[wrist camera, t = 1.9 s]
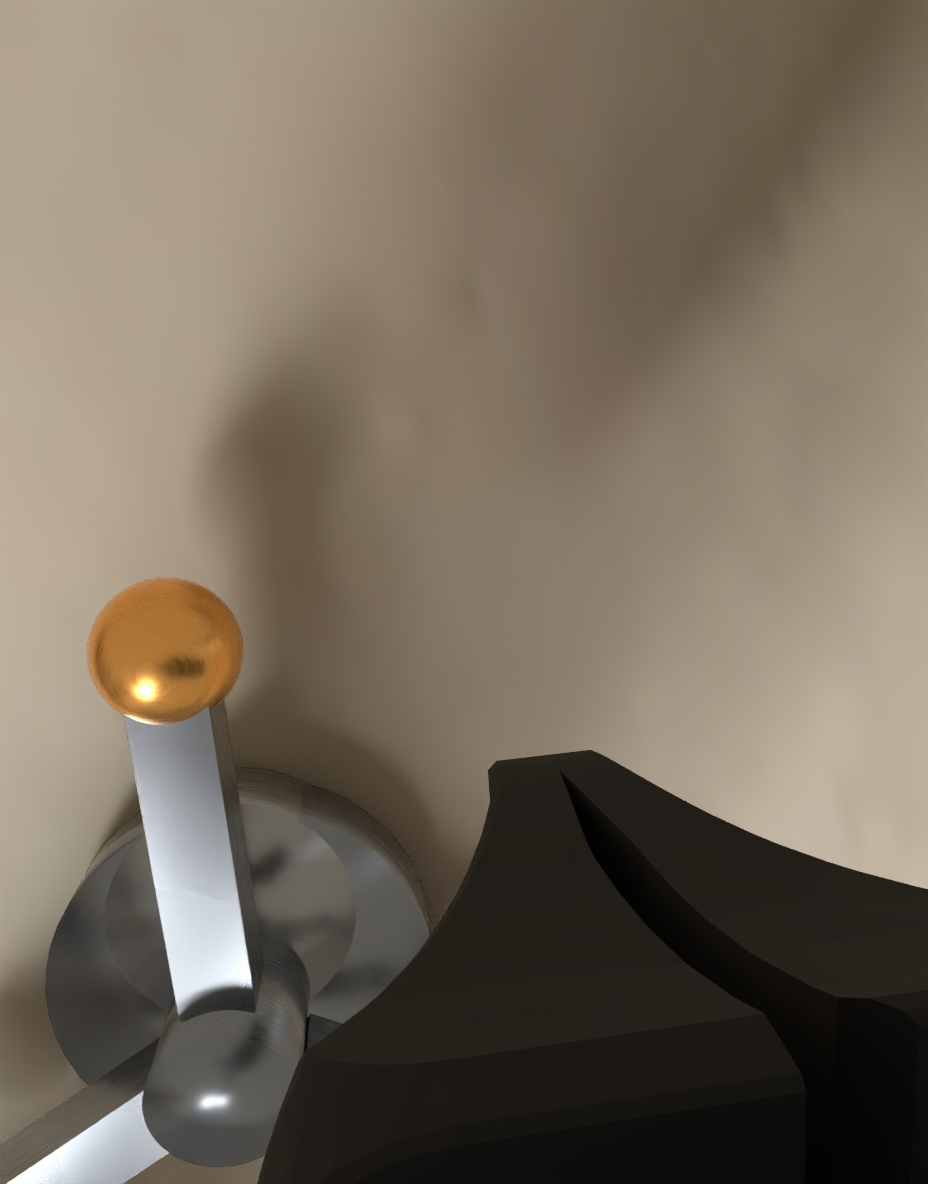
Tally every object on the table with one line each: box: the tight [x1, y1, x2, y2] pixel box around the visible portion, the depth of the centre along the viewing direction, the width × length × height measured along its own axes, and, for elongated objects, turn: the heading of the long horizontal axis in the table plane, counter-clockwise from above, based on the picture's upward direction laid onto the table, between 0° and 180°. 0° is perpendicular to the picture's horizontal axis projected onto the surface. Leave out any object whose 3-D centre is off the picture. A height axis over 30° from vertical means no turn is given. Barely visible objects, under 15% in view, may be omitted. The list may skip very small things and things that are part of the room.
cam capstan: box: [0, 578, 430, 1184], centre depth 15 cm, size 13×14×4 cm
